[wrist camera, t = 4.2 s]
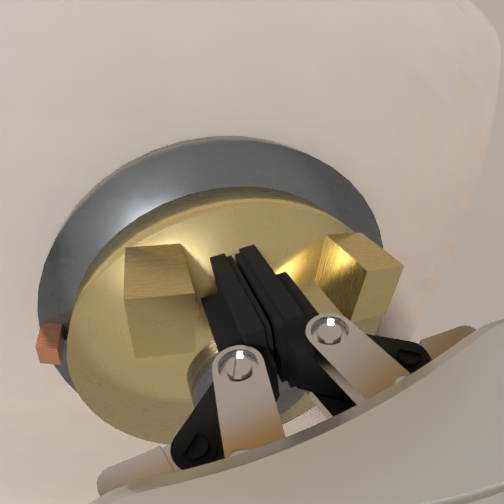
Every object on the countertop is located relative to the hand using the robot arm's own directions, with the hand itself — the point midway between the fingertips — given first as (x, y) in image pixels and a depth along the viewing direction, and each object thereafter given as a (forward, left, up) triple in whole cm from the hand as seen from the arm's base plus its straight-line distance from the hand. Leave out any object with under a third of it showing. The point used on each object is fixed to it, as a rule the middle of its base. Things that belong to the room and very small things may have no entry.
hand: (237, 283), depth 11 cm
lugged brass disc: (-5, +4, -3) cm, 7 cm away
